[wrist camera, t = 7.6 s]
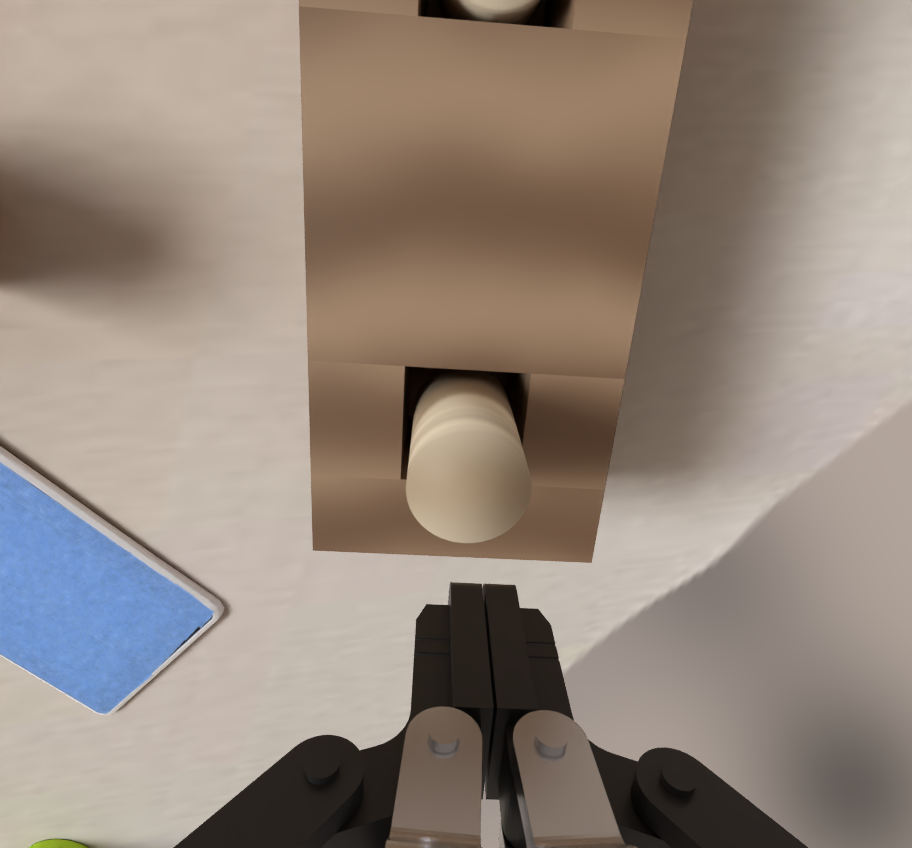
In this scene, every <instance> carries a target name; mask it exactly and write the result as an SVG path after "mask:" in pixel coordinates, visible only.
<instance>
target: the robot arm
mask: <svg viewBox="0 0 912 848" xmlns="http://www.w3.org/2000/svg"><path fill="white" fill-rule="evenodd" d="M558 658H559V657H558V653H557V649H556V646H555V641H554V636H553V632H552V628H551V625H550V623H549V622H548V621H547V620H546V618H545V617H544V616H543V615H542V613H541V612H540V611H539V610H538V609H528V608H520V607H519V601H518V595H517V590H516V586H515V585H500V584H483V589H482V584H474V583H452V582H450V588H449V600H448V605H431V604H426V606H425V607H424V609H423V610H422V612H421V613H420V615H419V616H418V618H417V619H416V634H415V651H414V668H413V685H412V702H411V713H410V717H409V720H408V722H407V724H406V726H405V727H404V728H403V730H402V731H401V732H400V733H399V734H398V735H397V736H396V737H394V738H393V739H391V740H390V741H388V742H386V743H384V744H381V745H378V746H375V747H371V748H367V749H364V750H360V751H359V749H358V748H357V747H356V746H355V745H354V744H353V743H352V742H350V741H349V740H347V739H345V738H342V737H339V736H335V735H321V736H316V737H313V738H310V739H307V740H305V741H303V742H301V743H300V744H299V745H297V746H296V747H294V748H293V749H292V750H291V751H290V752H288V753H287V754H286V755H285V756H284V757H282V758H281V759H280V760H279V761H278V762H276V763H275V764H274V765H273V766H272V767H270V768H269V769H268V770H267V771H266V772H264V773H263V774H262V775H261V776H259V777H258V778H257V779H256V780H255V781H253V782H252V783H251V784H250V785H249V786H247V787H246V788H245V789H244V790H243V791H241V792H240V793H239V794H238V795H237V796H235V797H234V798H233V799H232V800H231V801H229V802H228V803H227V804H226V805H224V806H223V807H222V808H221V809H220V810H218V811H217V812H216V813H215V814H214V815H212V816H211V817H210V818H209V819H208V820H206V821H205V822H204V823H203V824H202V825H200V826H199V827H198V828H197V829H196V830H194V831H193V832H192V833H191V834H189V835H188V836H187V837H186V838H185V839H183V840H182V841H181V842H180V843H179V844H177V845H176V846H175V847H174V848H481V799H483V791H484V783H485V792H486V799H498V800H499V801H500V812H501V823H500V830H499V838H498V839H499V848H808V847H807V846H805V845H804V844H803V843H802V842H800V841H799V840H798V839H797V838H795V837H794V836H793V835H792V834H790V833H789V832H788V831H786V830H785V829H784V828H782V827H781V826H780V825H779V824H778V823H776V822H775V821H774V820H773V819H771V818H770V817H769V816H767V815H766V814H765V813H764V812H762V811H761V810H760V809H758V808H757V807H756V806H755V805H754V804H752V803H751V802H750V801H749V800H747V799H746V798H745V797H743V796H742V795H741V794H740V793H738V792H737V791H736V790H734V789H733V788H732V787H730V785H728V784H727V783H726V782H724V781H723V780H722V779H721V778H719V777H718V776H717V775H716V774H714V773H713V772H712V771H711V770H709V769H708V768H707V767H705V766H704V765H703V764H702V763H700V762H699V761H697V760H696V759H695V758H694V757H692V756H690V755H688V754H686V753H684V752H681V751H679V750H675V749H672V748H655V749H651V750H649V751H647V752H646V753H644V754H643V755H642V756H641V757H640V759H639V761H638V762H637V761H634V760H631V759H628V758H625V757H622V756H619V755H616V754H612V753H610V752H607V751H605V750H603V749H601V748H599V747H597V746H596V745H595V744H593V743H592V742H591V741H589V740H588V739H587V736H586V734H585V733H584V731H583V730H582V728H581V727H580V726H579V725H578V724H577V723H576V722H574V719H573V716H572V712H571V708H570V704H569V699H568V696H567V691H566V687H565V683H564V678H563V674H562V670H561V666H560V662H559V660H558Z"/></svg>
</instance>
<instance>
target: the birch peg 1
mask: <svg viewBox="0 0 912 848" xmlns="http://www.w3.org/2000/svg"><path fill="white" fill-rule="evenodd" d="M540 1H541V0H438V4H439V8H440V11H441V14H442V16H443V18H445V19H456V20H468V21H480V22H492V23H504V24H516V25H526V24H527V23H528V21H529V20H530V18H531V16H532V15H533V13H534V11H535V9H536V8H537V6H538V4H539V3H540Z"/></svg>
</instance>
